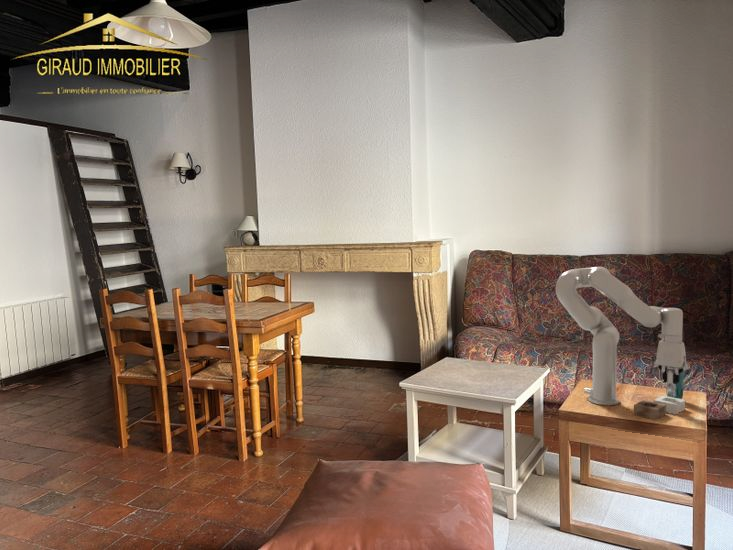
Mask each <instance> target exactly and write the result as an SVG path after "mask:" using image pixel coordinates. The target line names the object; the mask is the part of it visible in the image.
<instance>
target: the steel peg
mask: <svg viewBox="0 0 733 550" xmlns="http://www.w3.org/2000/svg"><path fill="white" fill-rule="evenodd" d="M674 375H675V368H667V372H666V382H665V386H666V387H665V396H675V386H676V384H674Z"/></svg>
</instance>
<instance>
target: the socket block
mask: <svg viewBox="0 0 733 550" xmlns="http://www.w3.org/2000/svg"><path fill="white" fill-rule="evenodd" d="M665 414H666V415H667V412H666V405H665V404H660V403H655V402H654V401H649V400H646V399H645V400H644V399H642V400H641V401H639V402H637V403H635V404H633V415H634V416H637V415H638V417H642V416H643V418H646V417H648V418H647V419H652V420H656V421H657V420H659V419H660V418H662V417H664V416H665Z"/></svg>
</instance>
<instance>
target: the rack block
mask: <svg viewBox="0 0 733 550" xmlns="http://www.w3.org/2000/svg"><path fill="white" fill-rule="evenodd" d="M653 402H655V403H660V404H665V405H666V413H667V412H668V413H669V414H672V413H673V414H672V415H678V414H680V413H681V412H683V411H685V410H686V399H683V398H682V399H678V398H673V397H668V396H667V395H661V396H658V397H657V398H655V399H654V400H653ZM684 409H685V410H684ZM679 412H680V413H679ZM668 413H667V414H668Z"/></svg>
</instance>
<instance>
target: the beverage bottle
mask: <svg viewBox="0 0 733 550" xmlns="http://www.w3.org/2000/svg"><path fill="white" fill-rule="evenodd" d="M668 368H675V367H668ZM681 368H684V366H682V367H681ZM684 377H685V371H683V372H682V373H680V381H679V382H678V383H677V384H676V386H675V396H668V397H673V398H678V399H683V398H684V390H685V389H684V381H685V380H684Z"/></svg>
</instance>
